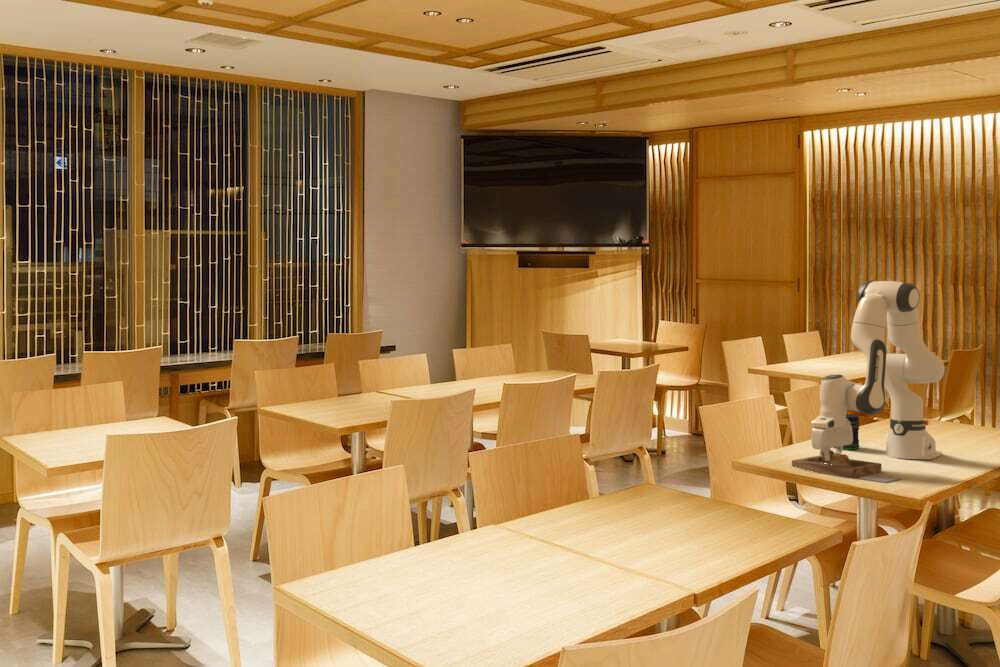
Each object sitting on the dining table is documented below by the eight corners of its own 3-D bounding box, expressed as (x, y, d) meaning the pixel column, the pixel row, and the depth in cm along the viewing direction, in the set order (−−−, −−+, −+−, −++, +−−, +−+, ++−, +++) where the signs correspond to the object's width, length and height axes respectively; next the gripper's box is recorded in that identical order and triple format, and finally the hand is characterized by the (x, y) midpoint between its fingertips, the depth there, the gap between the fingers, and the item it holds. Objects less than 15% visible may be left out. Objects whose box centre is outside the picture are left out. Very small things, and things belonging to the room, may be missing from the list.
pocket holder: (821, 463, 354) (821, 455, 354) (881, 472, 335) (881, 463, 335) (791, 468, 343) (791, 460, 343) (851, 478, 324) (851, 469, 324)
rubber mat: (874, 475, 329) (874, 474, 329) (901, 479, 321) (902, 478, 321) (858, 478, 323) (858, 477, 323) (885, 483, 315) (885, 481, 315)
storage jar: (862, 455, 371) (863, 416, 370) (837, 455, 371) (837, 416, 371) (853, 451, 381) (854, 413, 380) (829, 451, 381) (829, 413, 380)
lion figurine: (817, 465, 339) (819, 445, 341) (818, 467, 343) (821, 447, 345) (852, 470, 334) (854, 449, 335) (853, 472, 337) (856, 451, 339)
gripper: (841, 417, 348) (841, 454, 349) (808, 422, 336) (808, 461, 336) (857, 418, 343) (857, 457, 344) (823, 424, 331) (823, 463, 331)
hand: (832, 459), depth 340 cm, fingers closed on lion figurine, 4 cm apart
